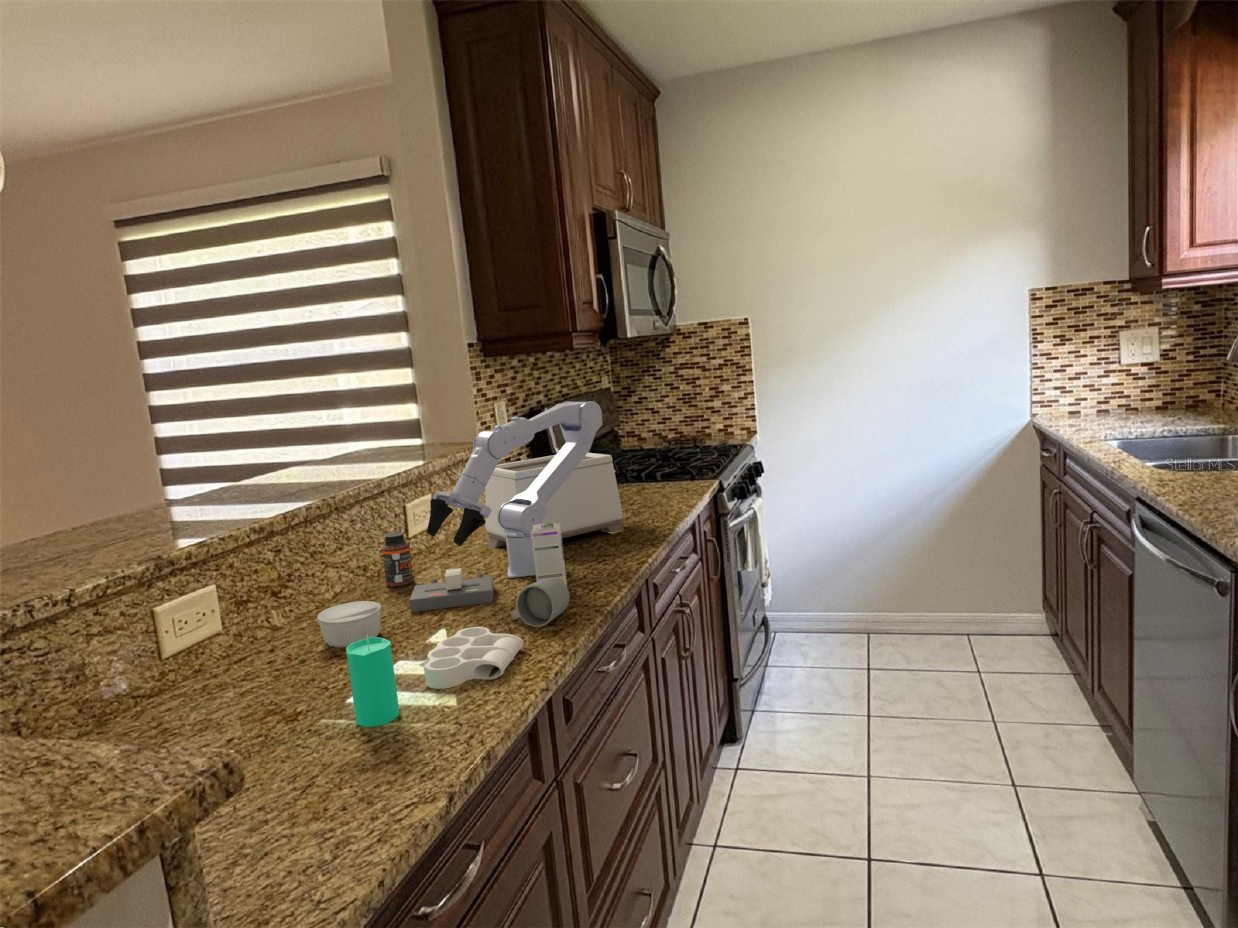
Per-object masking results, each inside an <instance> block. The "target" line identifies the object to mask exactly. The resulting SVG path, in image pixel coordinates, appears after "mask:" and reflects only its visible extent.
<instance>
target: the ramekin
mask: <svg viewBox="0 0 1238 928" xmlns="http://www.w3.org/2000/svg"><path fill="white" fill-rule="evenodd" d="M382 610H383V609H382V605H381V604H380V603H379V602H377V601H372V600H358V601H349V602H345V603H341V604H340V603H339V604H338V605H333V606H331V607H328V608H326V609H324V610H322V611H321V612H320V613H318V615H317V617H316V621H317V624H318V625H319V627H320V631H321V634H322V637H323V641H325V643H326V644H328V646H330V647H333V646H334V647H333V648H347V647H348V646H349V645H350V644H352V643H354V642H357V641H360V640H363V639H367V636H366V635H368V638H370V637H378V635H379V634H380V631H381V613H382Z"/></svg>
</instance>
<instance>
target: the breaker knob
mask: <svg viewBox="0 0 1238 928" xmlns="http://www.w3.org/2000/svg"><path fill="white" fill-rule="evenodd" d="M463 580H464V579H463V571H462V568H451V569H450V568H449V569H446V570H445V575H444V582H445V584H446V590H450V589H459V588H461V587H462V583H463Z"/></svg>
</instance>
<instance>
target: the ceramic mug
mask: <svg viewBox="0 0 1238 928" xmlns="http://www.w3.org/2000/svg"><path fill="white" fill-rule="evenodd" d="M570 597H571V596H570V592H569V589H568V585H567V586H566V585H565V584H564V583H563V582H562V581H561V580H559V579H557V578H552V577H550V578H544V579H541V580H539V581H535V582H533V583H531V584H529V585H526V586H525V587H524V588H522V589H521V590H520V591H519V592H518V595H517V598H516V601H515V602H516V603H515V608H516V609H514V610H512V611H510V613H509V614H510V616H511V618H512V619H513V620H514V621H515V620H518V619H521V620H522V621H523V623H525V624H527V625H528V626H531V627H534V628H541V627H545V626H547V625H548V624H549V623H551V622H553V620H555V619H556V618H557V617H558V616H559V615H561V614H562V613H564V611H565V610H566V609H567V607H568V606H569V603H570V599H571V598H570Z"/></svg>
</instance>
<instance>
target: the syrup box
mask: <svg viewBox="0 0 1238 928" xmlns="http://www.w3.org/2000/svg"><path fill="white" fill-rule="evenodd" d="M531 538H532V547H533V556H534V564H535V573H536V575H535V579H536V581H535V582H537V581H539V580H541V579H544V578H550V577H552V578H557V579H559V580H561V581H562V582H563V583H564V584H565V585H566V586H567V587H568V582H567V574H566V564H565V563H566V562H565V556H564V547H563V538H561V529H560V523H558V522H553V523H542V524H537V525H533V526H532V529H531Z"/></svg>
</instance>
